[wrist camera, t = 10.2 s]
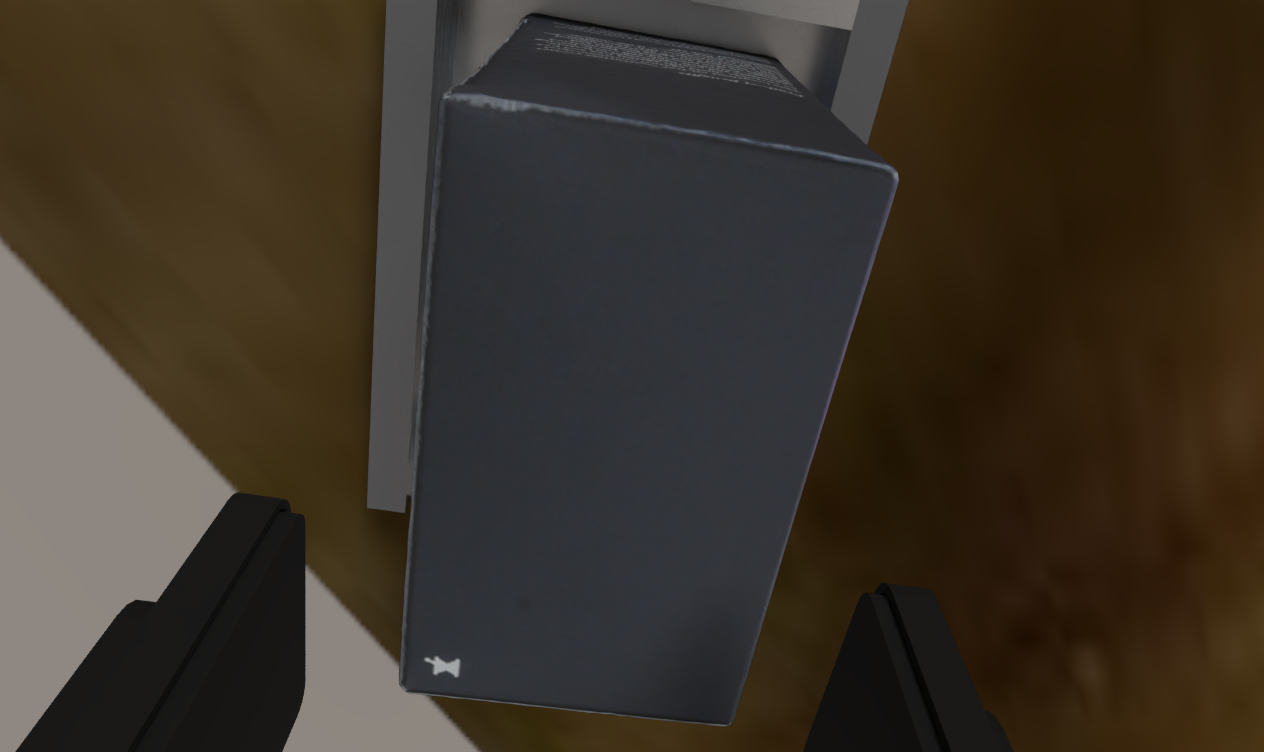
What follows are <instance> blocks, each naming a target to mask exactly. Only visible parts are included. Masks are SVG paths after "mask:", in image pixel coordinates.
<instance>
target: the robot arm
mask: <svg viewBox="0 0 1264 752" xmlns="http://www.w3.org/2000/svg"><path fill="white" fill-rule="evenodd" d="M304 689H305V519H304V516H303V515H302V514H295V513H291V511H290V505H289V502H288V501H287V500H286V499H281V498H273V497H266V496H259V495H252V494H245V493H235V494H233V495H232V496H231V497H230V499H229V500H228V501H227V502H226V504H225V505H224V507H223V508H222V510H221V511H220V512H219V514H218V515H217V517H216V518H215V519H214V521H213V522H212V524H211V525H210V527H209V528H208V530H207V531H206V532H205V534H204V535H203V537H202V538H201V540H200V541H199V542H198V544H197V545H196V547H195V548H194V549H193V551H192V552H191V554H190V555H189V557H188V558H187V559H186V561H185V563H184V564H183V565H182V566H181V568H180V569H179V571H178V572H177V574H176V575H175V577H174V578H173V579H172V581H171V582H170V584H169V585H168V586H167V588H166V589H165V591H164V592H163V594H162V595H161V596H160V598H159V599H158V601H157V602H150V601H141V600H135V601H133V602H131V603H129V604H127V605H126V606H125V607H124V609H123V610H122V611H121V612H120V613H119V614H118V615H117V616H116V618H115V619H114V620H113V622H112V623H111V624H110V626H109V627H108V628H107V630H106V631H105V632H104V634H103V635H102V637H101V638H100V639H99V640H98V642H97V643H96V644H95V646H94V647H93V648H92V650H91V651H90V652H89V654H88V655H87V657H86V658H85V659H84V660H83V662H82V663H81V664H80V666H79V667H78V669H77V670H76V671H75V673H74V674H73V675H72V677H71V678H70V680H69V681H68V682H67V683H66V685H65V686H64V687H63V689H62V690H61V691H60V693H59V694H58V695H57V697H56V698H55V699H54V701H53V702H52V703H51V705H50V706H49V708H48V709H47V710H46V712H45V713H44V714H43V716H42V717H41V718H40V720H39V721H38V722H37V724H36V725H35V726H34V728H33V729H32V730H31V732H30V733H29V734H28V736H27V737H26V738H25V740H24V741H23V742H22V744H21V745H20V747H19V748H18V749H17V750H16V752H282V751H283V749H284V746H285V744H286V741H287V739H288V737H289V734H290V732H291V730H292V727H293V725H294V723H295V720H296V718H297V716H298V713H299V710H300V707H301V703H302V700H303V695H304ZM804 752H1013V750H1012V747H1011V745H1010V743H1009V741H1008V738H1007V736H1006V734H1005V732H1004V730H1003V728H1002V726H1001V725H1000V723H999V721H998V720H997V718H996V717H995V716H994V715H992V714H991V713H990V712H989V711H984V708H983V706H982V704H981V701H980V699H979V697H978V694H977V692H976V690H975V687H974V685H973V683H972V680H971V678H970V676H969V673H968V671H967V669H966V666H965V664H964V662H963V659H962V657H961V655H960V653H959V650H958V648H957V646H956V643H955V641H954V639H953V636H952V634H951V632H950V629H949V627H948V625H947V622H946V620H945V618H944V615H943V613H942V611H941V608H940V606H939V604H938V601H937V599H936V597H935V596H934V594H933V592H932V591H930V590H928V589H923V588H916V587H909V586H902V585H895V584H888V583H883V584H880V585H879V586H878V587H877V589H876V591H875V593H874V594H871V593H864V594H863V595H862V596H861V597H860V599H859V601H858V604H857V606H856V609H855V612H854V615H853V617H852V620H851V623H850V625H849V628H848V631H847V633H846V636H845V639H844V642H843V644H842V647H841V650H840V652H839V655H838V658H837V660H836V663H835V666H834V669H833V671H832V674H831V677H830V679H829V682H828V685H827V687H826V690H825V693H824V696H823V698H822V701H821V704H820V706H819V709H818V712H817V714H816V717H815V720H814V723H813V725H812V728H811V731H810V733H809V736H808V739H807V741H806V744H805V748H804Z"/></svg>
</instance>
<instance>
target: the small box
mask: <svg viewBox="0 0 1264 752" xmlns="http://www.w3.org/2000/svg"><path fill="white" fill-rule="evenodd" d="M898 182H899V178H898V172H897V171H896V170H895V169H894V167H893V166H891V165H890V164H889V163H888V162H886V161H885V160H884V159H883V157H881V156H880V155H879V154H877V153H876V152H874V151H872V150H871V149H870V148H869V147H868V146H867V145H866V144H865V143H864V142H863V141H862V140H861V139H860V138H859V137H858V136H857V135H856V134H854V133H853V132H852V131H851V130H850V129H849V128H848V127H847V126H846V125H845V124H844V123H843V122H842V121H840V120H839V119H838V118H837V117H836V116H835V115H834V114H833V113H832V112H831V111H830V110H829V109H828V108H826V107H825V106H824V105H823V104H822V103H821V102H820V101H819V100H818V99H817V98H816V97H815V96H814V95H813V94H812V93H811V92H810V91H809V90H808V89H807V88H806V87H805V86H804V85H803V84H802V83H800V82H799V81H798V80H797V79H796V77H794V76H793V75H792V74H791V73H790V72H789V71H788V70H787V69H786V68H785V67H784V66H783V64H782V63H781V62H780V61H779V60H778V59H776V58H772V57H768V56H764V55H758V54H752V53H749V52H741V51H738V50H733V49H727V48H723V47H719V46H714V45H705V44H700V43H696V42H691V41H685V40H680V39H675V38H668V37H663V36H658V35H652V34H647V33H642V32H635V31H631V30H626V29H618V28H613V27H608V26H602V25H597V24H593V23H588V22H581V21H576V20H570V19H565V18H559V17H553V16H548V15H544V14H538V13H530V14H528V15H527V16H525V17H523V18H522V19H521V20H520V22H519V24H518V25H517V27H516V29H515V30H514V31H513V32H512V33H511V34H510V36H509V38H507V39H506V40H505V41H504V42H503V43H502V45H500V47H499V48H498V49H496V51H495V52H494V53H493V54H491V55H490V56H489V58H488V60H486V61H485V63H484V64H483V65H482V66H479V68H478V70H477V71H476V72H475V73H473V74H472V75H471V76H469V77H468V78H466V79H465V80H464V81H463V82H462V83H460V84H459V85H456V86H454V87H451V88H449V89H448V90H447V91H445V92H444V94H443V95H442V96H441V97H440V99H439V103H438V116H437V131H436V143H435V155H434V170H433V184H432V199H431V212H430V225H429V238H428V251H427V267H426V289H425V302H424V308H423V328H422V340H421V354H420V372H419V384H418V396H417V407H416V424H415V441H414V453H413V474H412V486H411V511H410V523H409V534H408V551H407V564H406V573H405V589H404V606H403V622H402V640H401V655H400V668H399V684H400V686H401V688H402V689H403V690H404V691H406V692H408V693H410V694H419V695H429V696H445V697H451V698H462V699H471V700H482V701H491V702H498V703H508V704H516V705H523V706H537V707H547V708H554V709H563V710H572V711H580V712H588V713H601V714H611V715H619V716H626V717H636V718H644V719H656V720H665V721H674V722H685V723H695V724H708V725H715V726H722V727H724V726H727V725H730V724H731V723H732V722H733V720H734V718H735V716H736V712H737V708H738V704H739V701H740V698H741V694H742V690H743V688H744V685H745V682H746V679H747V675H748V672H749V668H750V665H751V661H752V658H753V654H754V651H755V648H756V644H757V641H758V637H759V634H760V631H761V627H762V624H763V621H764V617H765V614H766V611H767V607H768V604H769V601H770V597H771V594H772V591H773V587H774V584H775V581H776V577H777V574H778V571H779V567H780V564H781V561H782V557H783V554H784V551H785V547H786V544H787V541H788V537H789V534H790V531H791V527H792V524H793V521H794V518H795V514H796V511H797V508H798V504H799V501H800V498H801V494H802V491H803V488H804V485H805V481H806V478H807V475H808V472H809V468H810V465H811V462H812V459H813V456H814V452H815V449H816V446H817V443H818V439H819V436H820V433H821V430H822V426H823V423H824V420H825V417H826V413H827V410H828V407H829V404H830V400H831V397H832V394H833V391H834V387H835V384H836V381H837V378H838V375H839V371H840V368H841V365H842V362H843V358H844V355H845V352H846V349H847V345H848V342H849V339H850V336H851V333H852V330H853V326H854V323H855V320H856V317H857V314H858V311H859V308H860V304H861V301H862V298H863V295H864V292H865V289H866V285H867V282H868V279H869V276H870V273H871V270H872V267H873V263H874V260H875V257H876V253H877V250H878V247H879V244H880V240H881V237H882V234H883V231H884V228H885V225H886V222H887V219H888V215H889V212H890V209H891V206H892V202H893V199H894V196H895V193H896V189H897V186H898Z"/></svg>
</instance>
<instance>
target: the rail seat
mask: <svg viewBox="0 0 1264 752" xmlns="http://www.w3.org/2000/svg"><path fill="white" fill-rule="evenodd" d="M908 1H909V0H387V2H386V28H385V54H384V80H383V106H382V132H381V158H380V184H379V210H378V235H377V261H376V287H375V313H374V339H373V365H372V391H371V417H370V443H369V469H368V495H367V508H372V509H380V510H387V511H394V512H401V513H405V512H406V509H407V507H408V504H409V502H410V499H411V486H412V474H413V453H414V441H415V424H416V407H417V396H418V384H419V372H420V354H421V340H422V328H423V308H424V302H425V289H426V267H427V251H428V238H429V225H430V212H431V199H432V184H433V170H434V155H435V143H436V131H437V116H438V103H439V99H440V97H441V96H442V95H443V94H444V92H445V91H447V90H448V89H449V88H451V87H454V86H456V85H459V84H460V83H462V82H463V81H464V80H465V79H466V78H468V77H469V76H471V75H472V74H473V73H475V72H476V71H477V70H478V68H479V66H482V65H483V64H484V63H485V61H486V60H488V58H489V56H490V55H491V54H493V53H494V52H495V51H496V49H498V48H499V47H500V45H502V43H503V42H504V41H505V40H506V39H507V38H509V36H510V34H511V33H512V32H513V31H514V30H515V29H516V27H517V25H518V24H519V22H520V20H521V19H522V18H523V17H525V16H527V15H528V14H530V13H538V14H544V15H548V16H553V17H559V18H565V19H570V20H576V21H581V22H588V23H593V24H597V25H602V26H608V27H613V28H618V29H626V30H631V31H635V32H642V33H647V34H652V35H658V36H663V37H668V38H675V39H680V40H685V41H691V42H696V43H700V44H705V45H714V46H719V47H723V48H727V49H733V50H738V51H741V52H749V53H752V54H758V55H764V56H768V57H772V58H776V59H778V60H779V61H780V62H781V63H782V64H783V66H784V67H785V68H786V69H787V70H788V71H789V72H790V73H791V74H792V75H793V76H794V77H796V79H797V80H798V81H799V82H800V83H802V84H803V85H804V86H805V87H806V88H807V89H808V90H809V91H810V92H811V93H812V94H813V95H814V96H815V97H816V98H817V99H818V100H819V101H820V102H821V103H822V104H823V105H824V106H825V107H826V108H828V109H829V110H830V111H831V112H832V113H833V114H834V115H835V116H836V117H837V118H838V119H839V120H840V121H842V122H843V123H844V124H845V125H846V126H847V127H848V128H849V129H850V130H851V131H852V132H853V133H854V134H856V135H857V136H858V137H859V138H860V139H861V140H862V141H863V142H864V143H865V144H866V145H867V144H868V140H869V137H870V133H871V130H872V126H873V123H874V119H875V116H876V112H877V109H878V105H879V102H880V98H881V95H882V92H883V88H884V85H885V81H886V78H887V74H888V71H889V67H890V64H891V60H892V57H893V53H894V50H895V46H896V43H897V39H898V36H899V32H900V29H901V26H902V22H903V19H904V15H905V12H906V8H907V5H908Z"/></svg>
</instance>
